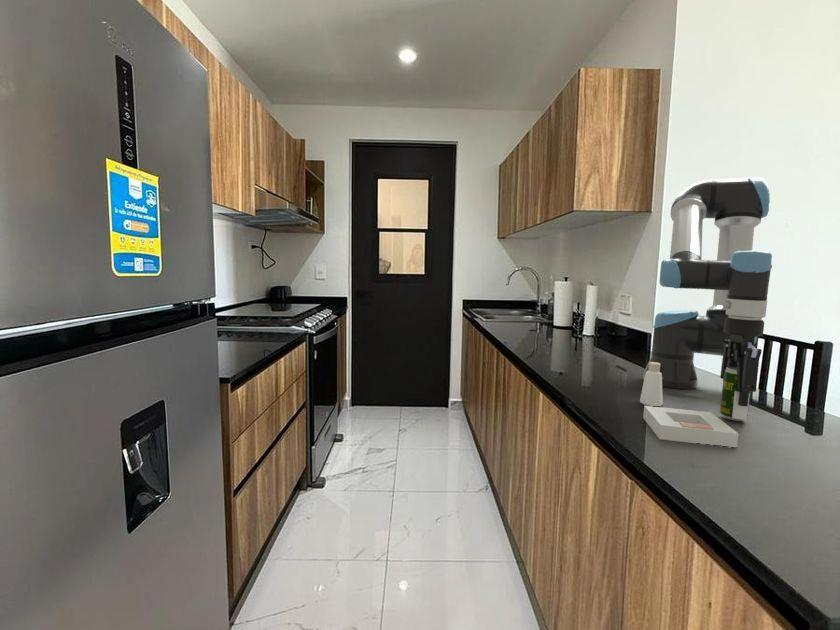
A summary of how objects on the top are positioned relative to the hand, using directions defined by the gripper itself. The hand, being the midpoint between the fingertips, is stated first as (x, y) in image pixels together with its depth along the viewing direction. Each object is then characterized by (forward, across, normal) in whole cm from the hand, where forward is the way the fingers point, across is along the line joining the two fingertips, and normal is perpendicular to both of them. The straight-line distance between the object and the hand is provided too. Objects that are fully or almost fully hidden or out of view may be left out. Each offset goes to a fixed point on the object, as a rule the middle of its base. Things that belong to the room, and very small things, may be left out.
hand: (733, 414), depth 106 cm
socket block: (+1, +13, -14) cm, 19 cm away
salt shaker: (+2, -8, -16) cm, 18 cm away
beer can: (+1, 0, 0) cm, 1 cm away
